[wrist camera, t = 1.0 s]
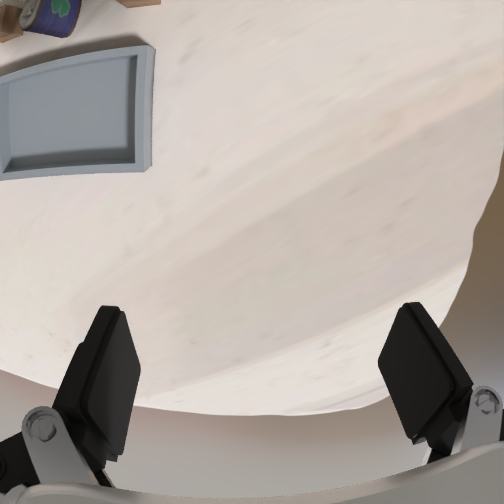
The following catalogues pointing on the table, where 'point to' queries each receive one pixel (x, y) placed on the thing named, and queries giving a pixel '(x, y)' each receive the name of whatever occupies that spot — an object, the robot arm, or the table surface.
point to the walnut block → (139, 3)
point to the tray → (78, 115)
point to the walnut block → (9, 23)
